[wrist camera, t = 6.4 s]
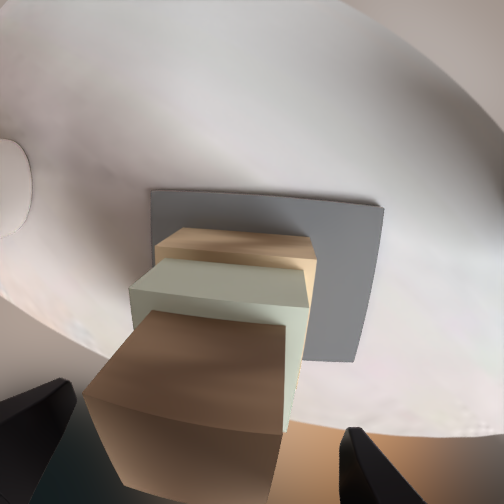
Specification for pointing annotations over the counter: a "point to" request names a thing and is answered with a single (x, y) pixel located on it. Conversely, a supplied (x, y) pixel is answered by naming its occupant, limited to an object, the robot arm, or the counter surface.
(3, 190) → the pill bottle
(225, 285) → the tower mid
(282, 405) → the walnut block
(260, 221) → the slate board
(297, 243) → the tower base
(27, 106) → the counter surface
